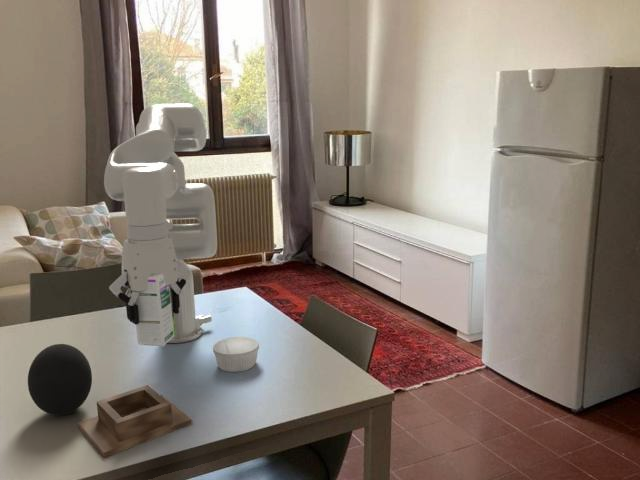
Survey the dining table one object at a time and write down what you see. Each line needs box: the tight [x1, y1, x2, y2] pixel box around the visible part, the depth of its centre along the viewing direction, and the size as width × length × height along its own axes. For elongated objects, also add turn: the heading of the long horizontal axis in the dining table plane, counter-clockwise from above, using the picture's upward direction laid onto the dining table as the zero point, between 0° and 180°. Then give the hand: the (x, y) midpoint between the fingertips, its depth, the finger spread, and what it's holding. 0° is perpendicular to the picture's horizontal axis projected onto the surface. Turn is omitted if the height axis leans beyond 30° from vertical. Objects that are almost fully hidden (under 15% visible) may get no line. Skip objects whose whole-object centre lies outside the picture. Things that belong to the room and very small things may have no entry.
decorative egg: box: [27, 343, 93, 416], centre depth 125 cm, size 12×12×15 cm
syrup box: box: [132, 274, 176, 347], centre depth 119 cm, size 6×6×14 cm
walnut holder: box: [78, 384, 193, 458], centre depth 121 cm, size 18×14×5 cm
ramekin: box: [212, 336, 260, 373], centre depth 148 cm, size 11×11×5 cm
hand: (154, 316), depth 119 cm, fingers closed on syrup box, 8 cm apart
